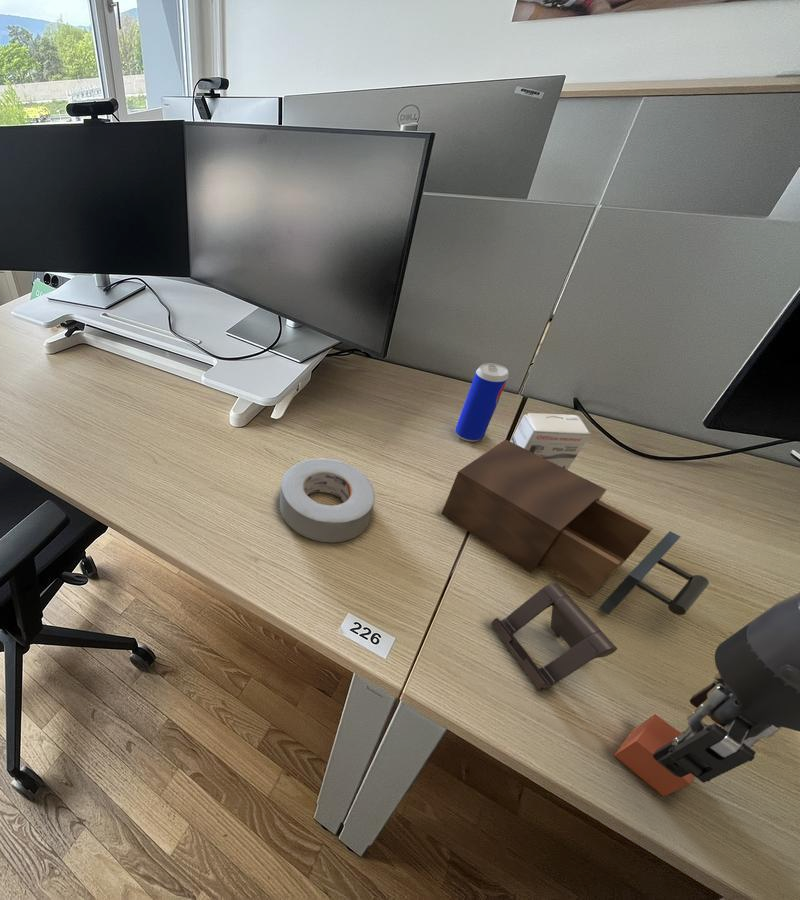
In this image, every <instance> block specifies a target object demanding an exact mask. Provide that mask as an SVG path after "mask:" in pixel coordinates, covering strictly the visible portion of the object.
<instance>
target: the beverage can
mask: <svg viewBox="0 0 800 900" xmlns="http://www.w3.org/2000/svg"><path fill="white" fill-rule="evenodd" d="M508 379H509V369H507V367H505V366H503V365H501V364H498V363H491V362H490V363H482V364H481V365H480V366H479V367H478V368H477V369H476V371H475V374H474V377H473V379H472V382H471V385H470V388H469V390H468V393H467V396H466V399H465V401H464V404H463V407H462V409H461V411H460V414H459V415H460V416H459V417H458V421H457V423H456V425H455V434H456V436H458V438H460V439H461V440H463V441H465V442H478V441H480V440H482V439H483V438H484V437H485V434H486V432H487V430H488V427H489V425H490V422H491V420H492V417H493V415H494V413H495V410H496V408H497V405H498V403H499V401H500V398H501V396H502V394H503V392H504V388H505V386H506V384H507V382H508Z"/></svg>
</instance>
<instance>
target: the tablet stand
mask: <svg viewBox="0 0 800 900" xmlns="http://www.w3.org/2000/svg"><path fill="white" fill-rule="evenodd" d="M550 607H551V616H550V629H551V630H552V632H553V633H554V634H555V635H556V637H558V638H560V637H561V638H562V639H563V641H564V642H565V643H566V644H567V645H568V647H569V649H568V650H566V651H565V652H563V653H562V654H561V655H559V656H558V657H556V658H555V659H553V660H551V661H550V662H549V663H547V664H546V665H544V666H542V667H540V668H539V667H538V666H537V665H536V663H535V662H534V660H533V659H532V658H531V657H530V655H529V654H528V652H527V651H526V650H525V648H523V646H522V645H521V643H520V642H519V641H518V640H517V638H516V637H515V636H514V634H515V633H517V632H518V631H520V630H521V629H522V628H523V627H524V626H526V625H527V624H528V623H530V622H531V621H532V620H534V619H535V618H536V617H538V616H539V615H540V614H541V613H543V612H544V611H545V610H546V609H548V608H550ZM490 626H491V627H492V629H493V630H494V631H495V632H496V634H497V635H498V636H499V638H500V639H501V640H502V642H503V643H504V645H505V646H506V648H507V649H508V651H509V652H510V653H511V655H513V657H514V658H515V660H516V661H517V662H518V664H519V665H520V667H521V668H522V670H524V672H525V673H526V675H527V676H528V677H529V679H530V680H531V681H532V683H533V684H534V685H535V687H536V688H537V689H538V690H539V691H544V690H547V689H550V688H551V687H553V686H554V685H556V684H558V683H559V682H561V681H562V680H563V679H565V678H567V677H568V676H571V674H573V673H575V672H576V671H578V670H579V669H580V668H582V667H584V666H585V665H587V664H588V663H590V662H591V661H593V660H595V659H600V658H604V657H605V658H606V657H607V656H610V655H612V654H614V653H615V652H617V650H618V647H617V646H616V645H615V644H614V642H612V641H611V639H610V638H608V636H607V635H606V634H605V633H604V632H603V631H602V629H600V627H598V625H597V624H596V623H595V622H594V621H593V620H592V619H591V618H590V617H589V616H588V615H587V613H586V612H585V611H584V610H583V609H582V608H581V607H580V606H579V605H578V604H577V602H575V601H574V599H572V598H571V597H570V595H569V594H568V593H567V592H566V591H565V590H564V589H563V587H562V586H560V585H559V584H558V582H555V581H554V582H550V583H547V584H546V585H544V586H543V587H542V588H541V589H539V590H538V591H537V592H535V593H534V594H533V595H532V596H530V598H528V599H527V600H526V601H524V602H523V603H522V604H521V605H520V606H518V607H517V608H516V609H515V610H514V611H512V612H511V613H510V614H508V615H507V617H505V618H503V619H502V620H500V619H499V618H498V617H497V618H494V619H493V620H492V621H491V622H490Z"/></svg>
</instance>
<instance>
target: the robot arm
mask: <svg viewBox="0 0 800 900" xmlns="http://www.w3.org/2000/svg"><path fill="white" fill-rule="evenodd" d="M714 663H715V667H716V669H717V671H718V673H716V675H715V676H714V677H713V679H714V680H713V682H712V683H710V684H709V685H706V686H705V687H704V688H702V689H701V690H699V691H697V692H696V693H694V694H693V695H692V696H691V698H690V699H689V703H690V704H691V705H692V706H693V707H694V708H695V710H693V711H692V712H691V713H690V714H689V715H688V716H687V717H686V720H687V725H688V726H687V728H686V729H685V730H684V731H683V732H681V733H682V734H680V735H679V736H678V737H677V736H676V737H675V738H674V739H673V741H671V742H669V743H668V744H666V745H664V746H662V747H661V748H659V749H657V750H656V751H655V753H654V754H653V757H654V759H655V760H656V761H657V762H658V763H659V764H661V765H662V766H663V767H664V768H666V769H667V770H668V771H669V772H671V773H672V774H673V775H674V776H678V777H683V776H685V775H688V774H690V773H691V774H692V775H694V776H695V777H694V778H696V779H697V780H699V781H700V782H701V783H704V784H705V783H707V782H710V781H712V780H713V779H715V778H717V777H719V776H721V775H723V774H725V773H727V772H729V771H732V770H733V769H736V768H738V767H739V766H741V765H743V764H746V763H748V762H752V761H753V760H754V759H755V755H756V753H757V752H756V750H754V749H752V747H753V746H754V745H756V743H758V742H759V741H760V740H762V739H770V738H771V737H773V736H774V735H775V734H776V733H777V732H779V731H780V730H781V729H782V728H784V729H789V730H793V731H796V732H799V733H800V591H799V592H797V593H794V594H793V595H791V596H789V597H787V598H785V599H783V600H780V601H779V602H777V603H776V604H774V605H772V606H771V607H770V608H768V609H767V610H765V611H764V612H763V613H761V614H760V615H758V616H757V617H755V618H754V619H753V620H752V621H750V622H748V623H747V624H746V625H744V626H743V627H742V628H740V629H739V630H737V631H736V632H735V633H733V634H732V635H730V636H729V637H728V638H726V639H725V640H723V641H722V642H720V643H719V644H718V646H717V647H716V649H715V652H714ZM706 717H708V718H710V719H711V720H712V721H713V722H714V723H712V724H708V725H707V724H706V723H705V722H704V721H703V720H704V718H706Z"/></svg>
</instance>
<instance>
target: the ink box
mask: <svg viewBox="0 0 800 900" xmlns="http://www.w3.org/2000/svg"><path fill="white" fill-rule="evenodd" d="M591 435H592V432H591V429H590V428H589V426H588V424H587V423H586V422H585V421H584V420H583V418H582V417H581V416H579V415H577V414H565V413H564V414H563V413H562V414H561V413H542V412H528V413H527V414H523V416H522V418H521V420H520V421H519V424H518V426H517V428H516V430H515V431H514V433H513V435H512V438H511V439H510V442H512V443H514V444H516V445H518V446H520V447H522V448H524V449H526V450H528V451H530V452H532V453H534V454H536V455H538V456H540V457H542V458H544V459H546V460H548V461H550V462H552V463H554V464H556V465H558V466H560V467H562V468H564V469H566V470H568V471H569V468H570V467H571V465H572V464H573V463H574V461H575V460H576V457H578V454H579V453H580V451H581V450H582V449H583V447H584V445H585V444H586V442H587V441H588V439H589V438H590V436H591Z"/></svg>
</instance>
